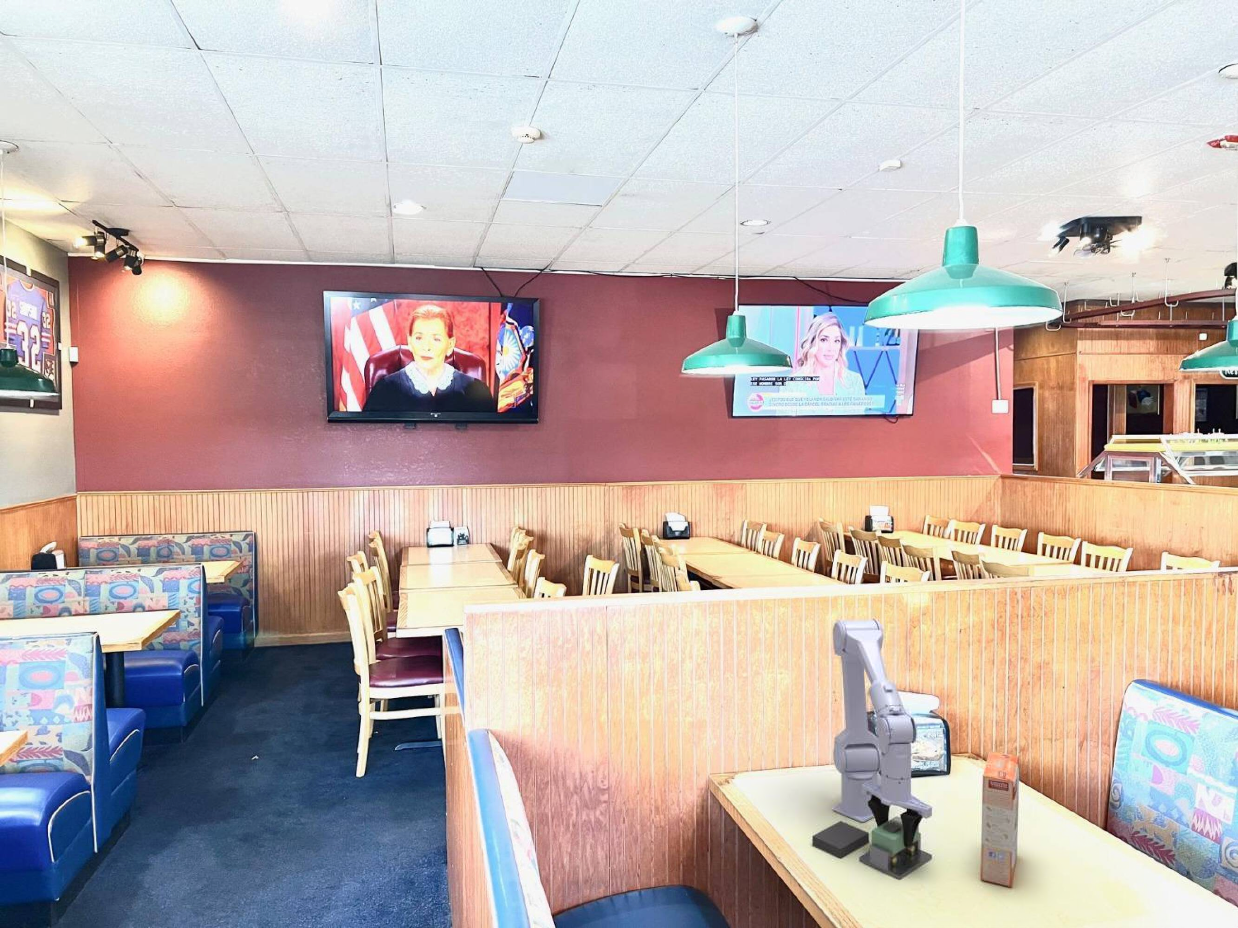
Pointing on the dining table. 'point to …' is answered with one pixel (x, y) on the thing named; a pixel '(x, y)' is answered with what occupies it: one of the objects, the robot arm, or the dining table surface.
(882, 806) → the robot arm
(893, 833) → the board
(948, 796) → the dining table surface
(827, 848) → the pad
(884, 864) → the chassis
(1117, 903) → the dining table surface
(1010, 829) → the cracker box
